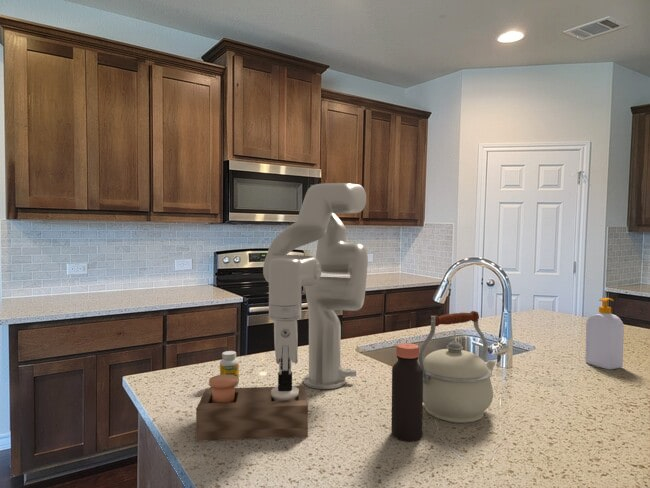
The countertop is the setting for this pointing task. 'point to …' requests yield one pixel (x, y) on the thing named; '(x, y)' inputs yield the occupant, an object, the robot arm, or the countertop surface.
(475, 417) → the kettle
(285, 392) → the cream button
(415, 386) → the vinegar
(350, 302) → the robot arm
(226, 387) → the orange-brown round piece
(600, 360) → the soap bottle
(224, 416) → the wooden shaker caddy
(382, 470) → the countertop surface
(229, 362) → the supplement bottle
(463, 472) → the countertop surface
